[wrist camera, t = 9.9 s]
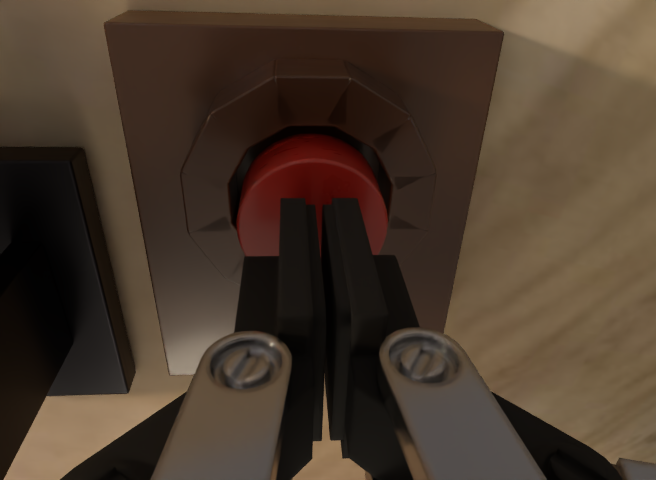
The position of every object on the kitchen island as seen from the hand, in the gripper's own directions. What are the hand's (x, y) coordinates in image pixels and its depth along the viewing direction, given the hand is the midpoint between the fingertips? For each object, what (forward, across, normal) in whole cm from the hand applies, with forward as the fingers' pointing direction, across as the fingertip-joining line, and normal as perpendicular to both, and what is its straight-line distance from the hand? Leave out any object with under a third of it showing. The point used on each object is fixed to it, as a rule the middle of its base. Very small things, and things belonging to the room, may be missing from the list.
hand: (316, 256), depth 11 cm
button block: (+6, 0, +2) cm, 6 cm away
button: (+3, 0, 0) cm, 3 cm away
